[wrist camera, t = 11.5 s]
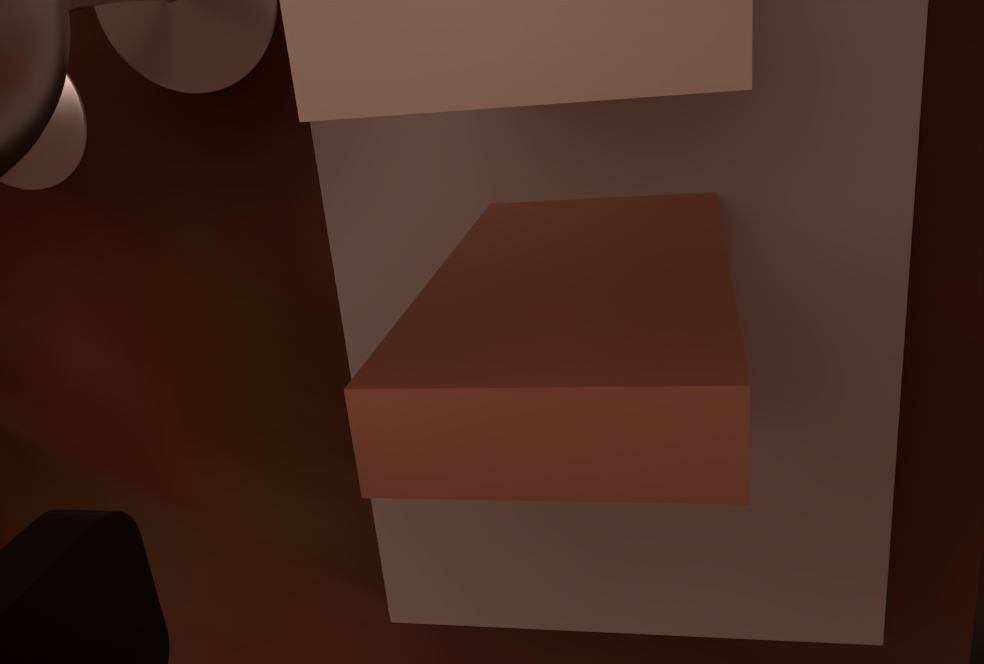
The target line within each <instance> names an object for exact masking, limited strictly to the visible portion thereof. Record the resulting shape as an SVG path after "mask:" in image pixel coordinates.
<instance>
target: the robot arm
mask: <svg viewBox="0 0 984 664" xmlns="http://www.w3.org/2000/svg"><path fill="white" fill-rule="evenodd" d="M168 659H169V636H168V631H167V627H166V624H165V620H164V616H163V613H162V609H161V606H160V602H159V599H158V595H157V591H156V588H155V584H154V581H153V577H152V573H151V570H150V566H149V563H148V559H147V555H146V552H145V548H144V545H143V541H142V537H141V534H140V531H139V528H138V526H137V524H136V522H135V521H134V520H133V518H132V517H131V516H129V515H128V514H127V513H124V512H121V511H89V510H51V511H48V512H46V513H44V514H42V515H41V516H39V517H38V518H37V519H36V520H35V521H33V522H32V523H31V524H30V525H29V526H28V527H26V528H25V529H24V530H23V531H22V532H21V533H20V534H18V535H17V536H16V537H15V538H14V539H13V540H11V541H10V542H9V543H8V544H7V545H6V546H5V547H3V548H2V549H1V550H0V664H168ZM970 664H984V551H983V555H982V561H981V569H980V578H979V587H978V596H977V605H976V614H975V622H974V631H973V640H972V649H971V658H970Z"/></svg>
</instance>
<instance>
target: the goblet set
mask: <svg viewBox="0 0 984 664" xmlns="http://www.w3.org/2000/svg"><path fill="white" fill-rule="evenodd" d="M91 6H94V9H95V12H96V15H97V18H98V20H99V22H100V25H101V27H102V29H103V31H104V33H105V35H106V36H107V38H108V40H109V41H110V43H111V44H112V46H113V47H114V48H115V50H116V51H117V52H118V54H119V55H120V56H121V57H122V58H123V59H124V60H125V61H126V62H127V63H128V64H129V65H130V66H131V67H132V68H133V69H134V70H135V71H137V72H138V73H139V74H140V75H142V76H143V77H145V78H146V79H148V80H149V81H151V82H153V83H155V84H157V85H159V86H161V87H164V88H166V89H169V90H172V91H176V92H181V93H187V94H206V93H213V92H217V91H220V90H223V89H226V88H228V87H230V86H232V85H234V84H236V83H238V82H239V81H241V80H242V79H243V78H245V77H246V76H247V75H248V74H249V73H250V72H251V71H252V70H253V69H254V68H255V67H256V66H257V65H258V64H259V62H260V61H261V59H262V58H263V56H264V55H265V53H266V51H267V49H268V47H269V45H270V43H271V40H272V38H273V35H274V31H275V28H276V23H277V17H278V7H279V0H0V182H2V183H4V184H6V185H9V186H12V187H15V188H19V189H23V190H44V189H48V188H52V187H54V186H57V185H59V184H60V183H62V182H64V181H65V180H66V179H68V178H69V177H70V176H71V175H72V174H73V173H74V172H75V170H76V169H77V167H78V166H79V164H80V162H81V160H82V158H83V156H84V153H85V149H86V145H87V138H88V122H87V115H86V110H85V106H84V103H83V100H82V97H81V94H80V92H79V90H78V88H77V86H76V84H75V82H74V80H73V79H72V77H71V75H70V74H69V73H68V71H67V69H68V62H69V50H70V20H69V13H70V12H72V11H75V10H78V9H83V8H87V7H91Z"/></svg>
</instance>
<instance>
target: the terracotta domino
mask: <svg viewBox="0 0 984 664" xmlns="http://www.w3.org/2000/svg"><path fill="white" fill-rule="evenodd" d="M344 393H345V399H346V405H347V411H348V417H349V423H350V429H351V435H352V441H353V447H354V453H355V459H356V465H357V471H358V477H359V483H360V489H361V495H362V498H391V499H449V500H507V501H566V502H624V503H682V504H740V505H749V472H750V383H749V377H748V372H747V366H746V360H745V354H744V348H743V343H742V337H741V331H740V325H739V319H738V314H737V308H736V302H735V296H734V290H733V285H732V279H731V273H730V267H729V262H728V256H727V250H726V244H725V238H724V233H723V227H722V221H721V215H720V209H719V204H718V198H717V192H707V193H687V194H668V195H648V196H629V197H609V198H589V199H570V200H550V201H531V202H511V203H492V204H489V206H488V207H487V208H486V209H485V211H484V212H483V213H482V214H481V216H480V217H479V218H478V220H477V221H476V222H475V223H474V225H473V226H472V227H471V228H470V230H469V231H468V232H467V234H466V235H465V236H464V237H463V239H462V240H461V241H460V242H459V244H458V245H457V246H456V247H455V249H454V250H453V251H452V253H451V254H450V255H449V256H448V258H447V259H446V260H445V261H444V263H443V264H442V265H441V267H440V268H439V269H438V270H437V272H436V273H435V274H434V275H433V277H432V278H431V279H430V280H429V282H428V283H427V284H426V286H425V287H424V288H423V289H422V291H421V292H420V293H419V294H418V296H417V297H416V298H415V300H414V301H413V302H412V303H411V305H410V306H409V307H408V308H407V310H406V311H405V312H404V314H403V315H402V316H401V317H400V319H399V320H398V321H397V322H396V324H395V325H394V326H393V327H392V329H391V330H390V331H389V333H388V334H387V335H386V336H385V338H384V339H383V340H382V341H381V343H380V344H379V345H378V347H377V348H376V349H375V350H374V352H373V353H372V354H371V355H370V357H369V358H368V359H367V361H366V362H365V363H364V364H363V366H362V367H361V368H360V369H359V371H358V372H357V373H356V374H355V376H354V377H353V378H352V380H351V381H350V382H349V383H348V385H347V386H346V387H345V388H344Z"/></svg>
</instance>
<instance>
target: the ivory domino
mask: <svg viewBox="0 0 984 664" xmlns="http://www.w3.org/2000/svg"><path fill="white" fill-rule="evenodd" d="M280 6H281V13H282V19H283V25H284V31H285V37H286V43H287V49H288V55H289V61H290V67H291V73H292V79H293V85H294V91H295V97H296V103H297V109H298V115H299V121H300V122H309V121H323V120H337V119H350V118H364V117H378V116H392V115H406V114H420V113H434V112H448V111H461V110H475V109H489V108H503V107H517V106H531V105H545V104H559V103H572V102H586V101H600V100H614V99H628V98H642V97H656V96H670V95H684V94H697V93H711V92H725V91H739V90H752V14H753V0H280Z"/></svg>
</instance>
